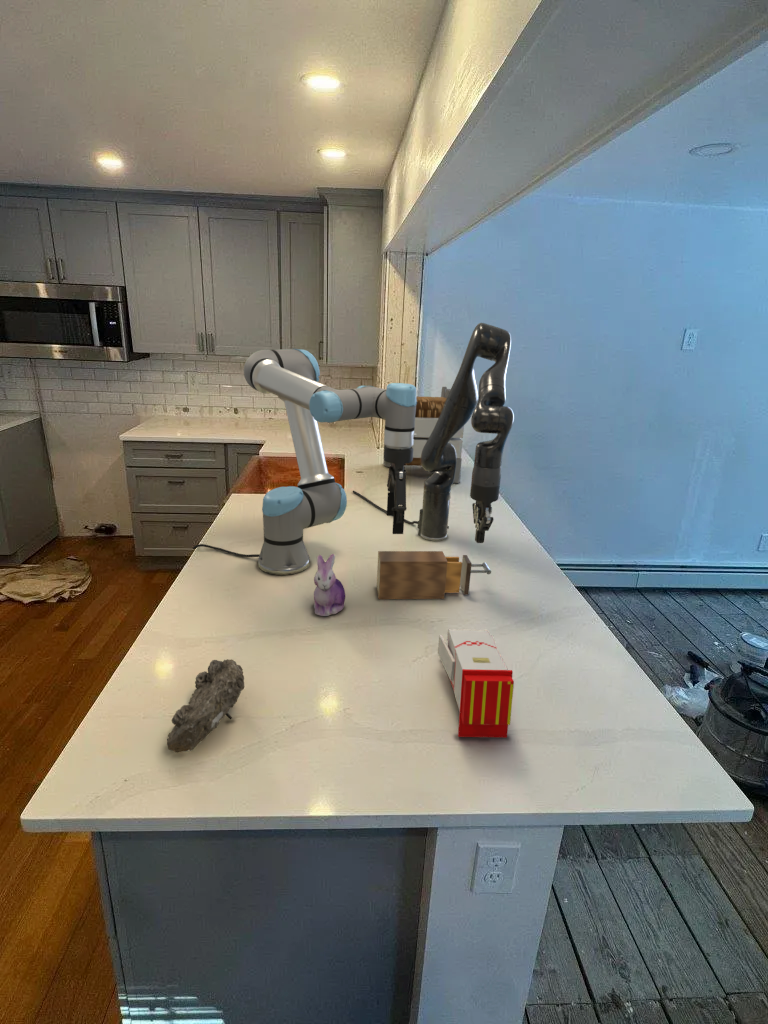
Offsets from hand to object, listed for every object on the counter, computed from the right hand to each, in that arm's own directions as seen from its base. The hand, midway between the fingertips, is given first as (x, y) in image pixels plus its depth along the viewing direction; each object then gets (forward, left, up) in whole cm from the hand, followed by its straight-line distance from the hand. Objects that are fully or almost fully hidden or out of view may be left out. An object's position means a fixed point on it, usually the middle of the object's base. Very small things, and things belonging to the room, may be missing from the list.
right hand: (479, 542), depth 155 cm
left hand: (-18, -16, +5) cm, 24 cm away
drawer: (-6, -5, -15) cm, 17 cm away
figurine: (-25, -33, -16) cm, 45 cm away
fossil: (-16, -79, -16) cm, 82 cm away
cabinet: (-14, -12, -16) cm, 24 cm away
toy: (+20, -41, -16) cm, 48 cm away
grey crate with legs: (-77, +94, -16) cm, 123 cm away
